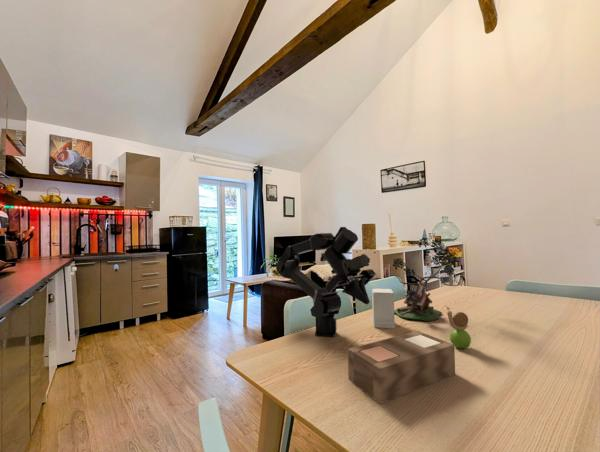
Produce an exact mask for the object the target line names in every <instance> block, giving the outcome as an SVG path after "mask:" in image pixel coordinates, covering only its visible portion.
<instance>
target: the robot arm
mask: <svg viewBox="0 0 600 452" xmlns="http://www.w3.org/2000/svg"><path fill="white" fill-rule="evenodd" d="M358 240H359V237H358V235H357V234H356V233H355V232H353V231H352V230H350V229H348V228H347V226H340V227H339V229H338V231H337V232H336V234H335V236H334V234H333V233H332V232H327V233H326V232H320V233H315V234H313V235H312V236H310V238H309V239H307V240H305V241H302V242H298V243H295V244H293V245H288V246H286V248H285V250H284V252H283V253H282V254H281V255H280V257H279V258H278V259H277V262H276V266H275V268H276V269H275V270H276V273H277V274H278V275H279V276H281V277H282V278H285V279H288V280H291V281H293V282H294V283H295V285H297V286H298V287H299V288H300V289H301V290H302V291H304V293H305V294H307V295H308V296H309V297H310V298H311V299H312V303H313V306H312V307H311V308H310V309H309V310H310V314H311V316H312V317H313V318H315V333H314V335H315V336H317V337H318V336H319V337H321V336H322V337H332V338H333V337H335V336H336V335H335V334H336V333H337V329H338V328H337V327H338V326H337V325H338V324H337V318H336V317H335V315H338V314H339V313H340V309H341V307H342V299H341V297H340V295H339V294H338V291H337V288H336V287H341V286H342V287H343V288H344V289H343V290H342V293H343V294H347V295H348V296H350V297H353V298H354V299H356V300H358V301H359V302H360V303H363V304H364V305H366V306H367V305H369V303H370V299H369V296H368V293H367V292H368V291H367V289H366V285H368V283H370V281H371V280H373V278H374V277H375V276H376V274H377V273H376V272H375V271H374V269H371V268H367V269H363V268H365V267H369V266H370V262H371V259H370V257H369V256H368V255H367V254H365V253H362V254H361V255H358V256H355V257H353V258H347V257H346V256H345V255H344V254H348V253H350V251H351V250H352V248H353V247H354V246H355V244H356V243H357V242H358ZM312 251H324V252H323V253H321V255H320V262H327V263H328V264H329V267H330V268H331V269H332V270H331V271H330V273H331V274H332V276H331V278H330V279H329V280H328V281H327V282H326V283H325V287H321V286H320V285H318V284H317V283H316V282H315V281H313V280H312V279H311V278H310V277H308V276H307V274H305V273H304V272H303V271H301V270H300V269H301V268H300V263H301V261H300V255H301V254H304V253H305V254H306V253H308V252H312ZM292 256H294V257H293V259H290V258H291V257H292ZM289 259H290V260H289ZM361 269H362V270H361Z"/></svg>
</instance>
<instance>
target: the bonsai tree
mask: <svg viewBox="0 0 600 452" xmlns="http://www.w3.org/2000/svg"><path fill="white" fill-rule="evenodd" d="M429 239H430V238H429V237H422V238H420V239H419V241H418V244H417V246H418V247H419V248H421V247H422V246H424V247H425V249H426V250H427V251H429V250H428V248H427V246H430V247H431V248H433V250H434V251H436V249H439V250H437V251H436V254H434V255H433V256H432V258H431V259H430V261H429V263H428V264H429V267H430V269H431V274H430V275H429V276H424V277H420V276H419V275H417V273H416V272H415V270H414V268H413V269H411V268H410V267H408V266H407V264H406V263H405V262H404V260H403V258H400V257H398V258H396V257H395V259H393V261H392V262H393V264H392V267H394V269H395V271H397V270H398V268H400V269H401V270H402V269H403V271H404V272H405V273H404V274H405V275H407V278H410V277H413V278H416V277H417V278H419V279H420V280H419V284H418V283H416V282H415V283H414V282H403V281H402V280H401V279H400V277H398V276H400V274H397V275H396V276H395V278H396V279H398V281H399V282H400V283H401V284H403V285H413V286H417V288H416V289H415V290H408V288H407V289H406V290H405V291H406V292H405V293H406V294H405V299H404V301H403V303H404V304H406V305H405V306H401V307H398V308H396V309H394V314H395V313H396V315H397V316H400V318H403V319H406V320H416V321H424V322H433V321H435V320H438V319H439V318H440V315H442V314H443V312H442V311H440V310H437V309H434V308H435V307H434V306H430V304H432V303H433V300H432V299H430V297H429V296H430V295H431V293H430V292H428V293H427V292H426V287H427V285H428V282H429V281H430V280H432V279H439V280H441V281H442V284H443V285H445V286H448V287H458V286H459V285H460V283H459V282H458V281H457V280H453V281H450V283H452V284H448V283H445V279H444V278H442V277H439V276H436V275H437V274H441V273H444V272H445V273H446V274H447V276H448V277H449V278H451V276H452V275H455V271H457V272H458V270H457V269H454V267H453V265H450V264H452V263H454V262H455V263H457V262H458V260H457V259H458V257H457V254H456V252H455V251H451V252H450V249H447V248H446V247H445V246H446V245H445V244H444V243H443V240H442V238H441V239H440V238H439V239H438V238H436V239H432V241H431V243H429V242H427V240H429ZM443 261H445V262H446V263H444V264H443ZM447 261H448V263H447ZM431 263H433V264H434V265H436V266H439V269H438V270H437V271H436V272H435V273H434V271H433V269H432V266H431ZM440 264H443V265H440ZM443 266H444V267H443ZM404 267H406V268H404ZM422 281H423V283H422ZM454 282H456V283H457V284H453V283H454ZM420 285H421V287H420ZM419 290H420V293H418V292H419Z"/></svg>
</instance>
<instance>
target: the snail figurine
mask: <svg viewBox="0 0 600 452" xmlns="http://www.w3.org/2000/svg"><path fill="white" fill-rule="evenodd" d="M446 310H447V311H446V314H447V316H448V321H449V326H451V328H453V329H452V330H451V332H450V333H449V340H450V343H451V344H454V347H455V348H456V349H457V348H458V349H466V348H469V347H470V345H471V343H472V338H471V335H470V334H469V333H468V331H466V329H467V328H468V327H469V325H468V323H469V318H468V315H467V314H466V313H465V312H461V311H457V312H456V313H454V315H453V311H451V308H450V307H448V306H446Z"/></svg>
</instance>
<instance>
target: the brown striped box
mask: <svg viewBox="0 0 600 452" xmlns="http://www.w3.org/2000/svg"><path fill="white" fill-rule="evenodd" d="M418 335H422V336H425V337H427V338H430V339H432V340H435V341H437V342H440V343H441V344H438V345H435V346H431V347H428V348H425V349H424V348H422V347H419V346H417V345H415V344H413V343H410V342H408V341H406V340H404V339H407V338H410V337H414V336H418ZM377 346H381V347H383V348H385V349H387V350H389V351H391V352H393V353H395V354H397V355H399V357H396V358H392V359H389V360H386V361H383V362H379V363H378V362H376V361H375V360H373V359H371V358H370V357H368V356H366V355H364V354H363V353H361V352H360V351H362V350H366V349H370V348H374V347H377ZM455 350H456V348H455V346H454V344H452V343H451V342H448V341H446V340H443V339H441V338H438V337H435V336H432V335H430V334H428V333H424V332H421V331H420V330H416V331H412V332H409V333H405V334H404V333H403V334H401V335H397V336H393V337H388V338H385V339H381V340H377V341H374V342H369V343H366V344H362V345H358V346H354V347H351V348H348V349H347V365H348V367H347V368H348V369H347V370H348V380H350V381H351V382H352V383H353V384H354V385H356V386H357V387H358V388H360V389H361V390H362V391H363V392H364V393H366V394H368V395H369V396H370V397H371V398H373V399H374V400H375V401H376V402H378V403H379V404H384V403H385V402H387V401H391V400H394V399H395V398H399V397H401V396H403V395H406V394H408V393H411V392H414V391H416V390H417V389H421V388H424V387H426V386H428V385H430V384H434V383H436V382H438V381H441V380H443V379H446V378H448V377H450V376H453V375H456V357H455V356H456V355H455V354H456V353H455Z"/></svg>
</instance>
